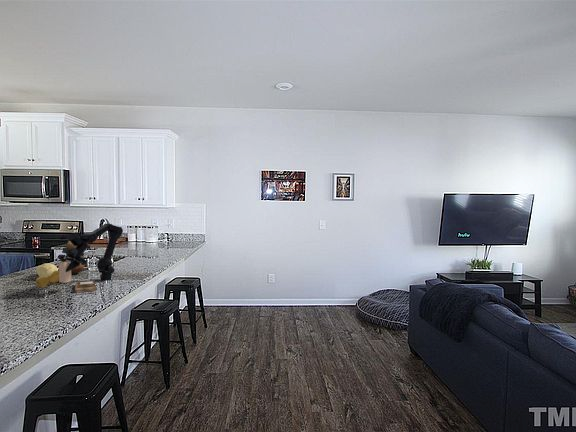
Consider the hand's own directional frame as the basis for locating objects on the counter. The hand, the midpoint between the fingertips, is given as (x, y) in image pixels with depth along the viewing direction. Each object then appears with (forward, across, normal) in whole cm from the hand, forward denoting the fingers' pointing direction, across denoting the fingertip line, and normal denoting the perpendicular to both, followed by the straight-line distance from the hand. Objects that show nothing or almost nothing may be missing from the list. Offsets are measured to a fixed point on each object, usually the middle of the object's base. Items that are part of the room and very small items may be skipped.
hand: (63, 271), depth 218 cm
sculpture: (-6, -44, +26) cm, 51 cm away
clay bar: (+4, 0, +6) cm, 7 cm away
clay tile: (-2, +1, +19) cm, 19 cm away
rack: (+2, +6, +17) cm, 18 cm away
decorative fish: (+2, -24, +17) cm, 30 cm away
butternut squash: (-20, -42, +40) cm, 61 cm away
